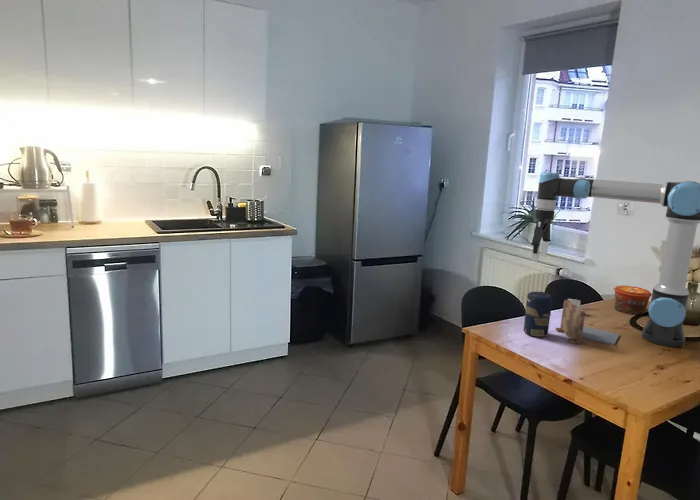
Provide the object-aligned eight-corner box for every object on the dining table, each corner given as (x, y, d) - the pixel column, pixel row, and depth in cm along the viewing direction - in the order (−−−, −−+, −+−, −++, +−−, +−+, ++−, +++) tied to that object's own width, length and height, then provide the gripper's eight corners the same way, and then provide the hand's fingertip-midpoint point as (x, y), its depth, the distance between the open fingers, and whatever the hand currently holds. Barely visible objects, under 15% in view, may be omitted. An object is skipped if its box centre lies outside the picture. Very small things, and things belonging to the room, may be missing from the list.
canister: (551, 339, 202) (556, 295, 199) (527, 337, 202) (532, 294, 199) (542, 330, 212) (548, 289, 208) (519, 329, 212) (524, 287, 208)
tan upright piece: (554, 329, 214) (558, 299, 211) (568, 329, 214) (573, 300, 211) (571, 343, 198) (575, 312, 196) (586, 344, 198) (591, 312, 196)
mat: (619, 335, 210) (619, 334, 210) (614, 345, 199) (614, 343, 199) (583, 327, 218) (583, 326, 218) (576, 336, 207) (576, 335, 206)
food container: (604, 305, 252) (607, 284, 250) (633, 305, 254) (637, 285, 252) (624, 316, 237) (628, 293, 235) (656, 316, 239) (660, 294, 237)
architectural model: (566, 311, 240) (568, 296, 239) (582, 314, 237) (584, 299, 236) (565, 313, 238) (567, 298, 236) (581, 316, 234) (583, 301, 233)
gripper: (543, 206, 226) (537, 252, 230) (527, 210, 206) (521, 261, 210) (561, 208, 222) (555, 255, 226) (546, 212, 202) (540, 264, 206)
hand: (539, 258), depth 218 cm, fingers open, 13 cm apart
